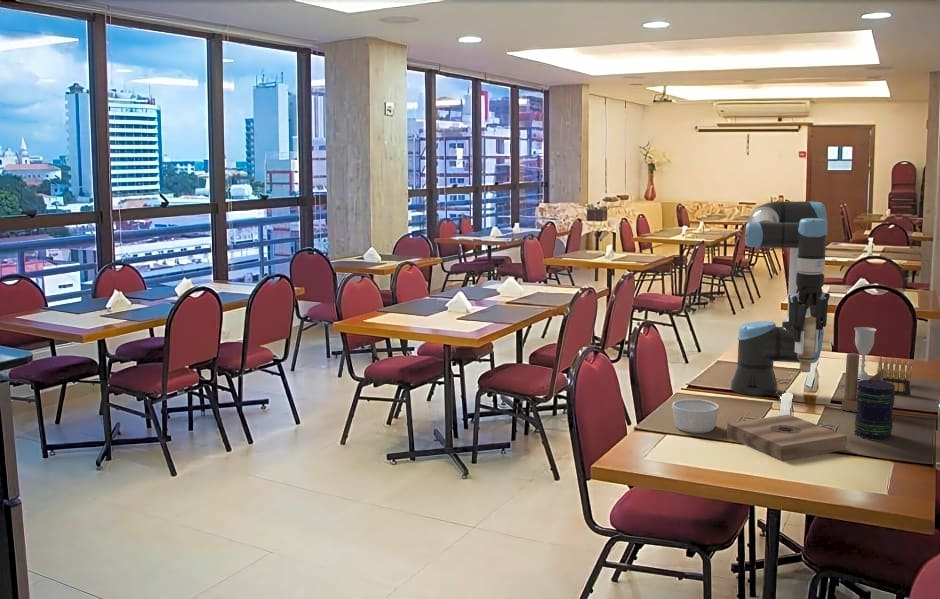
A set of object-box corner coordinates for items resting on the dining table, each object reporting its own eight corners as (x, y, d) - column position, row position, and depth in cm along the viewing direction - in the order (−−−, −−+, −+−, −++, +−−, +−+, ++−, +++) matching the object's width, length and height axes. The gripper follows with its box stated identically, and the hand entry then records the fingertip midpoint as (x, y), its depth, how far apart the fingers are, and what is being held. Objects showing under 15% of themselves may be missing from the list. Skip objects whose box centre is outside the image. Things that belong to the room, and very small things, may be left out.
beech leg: (792, 370, 265) (795, 316, 262) (805, 368, 267) (808, 315, 264) (804, 373, 260) (807, 319, 258) (817, 372, 262) (820, 317, 260)
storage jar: (899, 439, 253) (903, 387, 250) (867, 441, 251) (870, 389, 249) (877, 429, 262) (881, 379, 260) (846, 431, 261) (850, 380, 259)
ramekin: (689, 437, 256) (690, 413, 255) (662, 424, 268) (663, 401, 267) (727, 431, 262) (728, 407, 260) (698, 419, 273) (699, 396, 272)
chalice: (874, 377, 322) (878, 328, 319) (871, 381, 317) (874, 331, 314) (852, 375, 326) (855, 326, 323) (849, 379, 321) (852, 329, 318)
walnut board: (726, 436, 256) (727, 423, 255) (788, 427, 264) (789, 414, 264) (780, 460, 236) (781, 445, 235) (845, 450, 244) (846, 435, 243)
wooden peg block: (878, 416, 275) (882, 358, 272) (841, 410, 282) (844, 354, 279) (881, 413, 278) (885, 356, 275) (844, 408, 284) (847, 352, 282)
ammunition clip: (874, 391, 304) (877, 356, 302) (875, 390, 306) (878, 355, 304) (909, 396, 298) (912, 360, 296) (910, 394, 300) (913, 359, 298)
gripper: (795, 275, 252) (791, 357, 256) (843, 272, 259) (838, 351, 262) (776, 272, 259) (772, 352, 263) (824, 269, 266) (820, 346, 269)
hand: (805, 351), depth 263 cm, fingers closed on beech leg, 4 cm apart
